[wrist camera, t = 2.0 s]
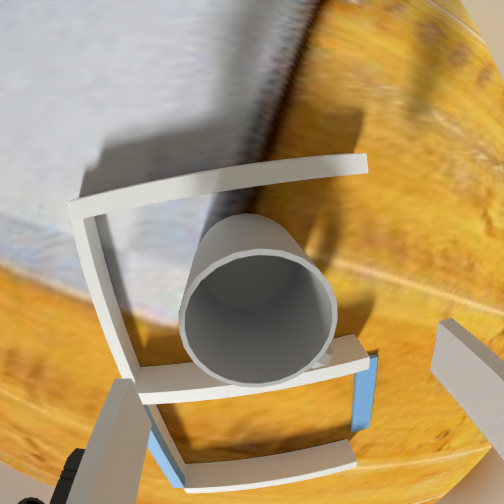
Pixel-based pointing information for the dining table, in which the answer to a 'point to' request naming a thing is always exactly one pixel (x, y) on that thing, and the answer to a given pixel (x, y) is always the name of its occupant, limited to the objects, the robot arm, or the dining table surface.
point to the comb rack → (189, 374)
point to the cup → (256, 305)
